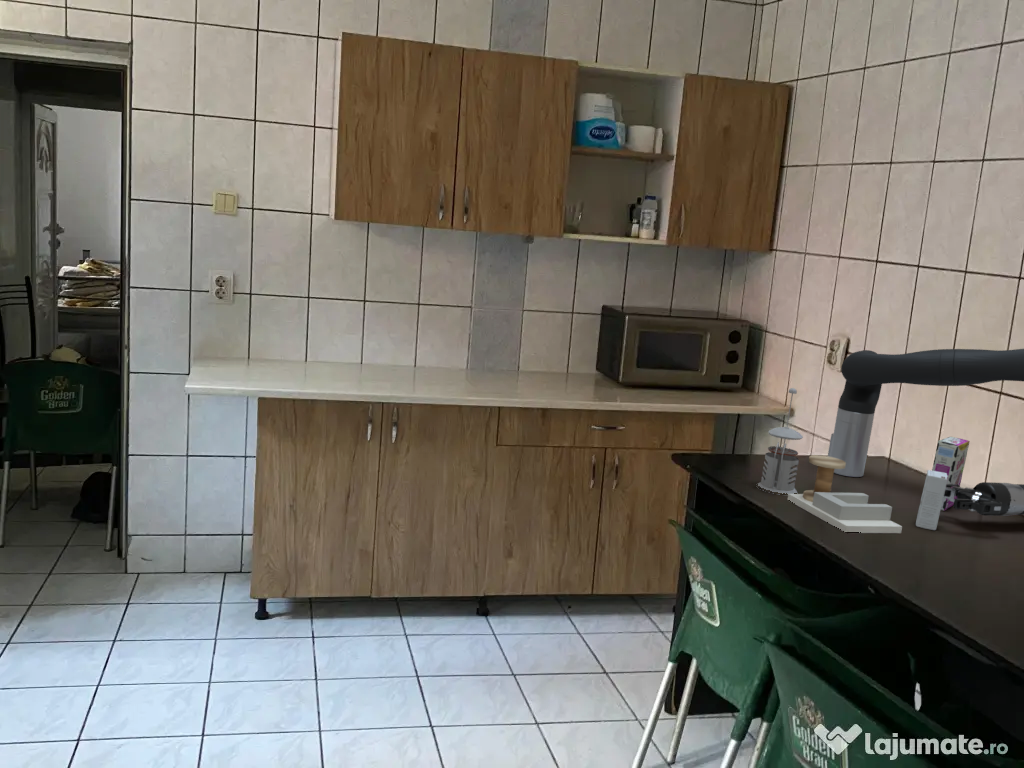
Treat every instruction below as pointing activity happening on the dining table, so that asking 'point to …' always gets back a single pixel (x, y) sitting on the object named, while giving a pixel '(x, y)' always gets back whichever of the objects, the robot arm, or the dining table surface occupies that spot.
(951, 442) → the candy bar box
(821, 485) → the bobbin
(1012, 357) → the robot arm
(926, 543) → the dining table surface
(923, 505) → the skincare box
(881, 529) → the notched board
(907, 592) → the dining table surface
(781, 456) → the french press
